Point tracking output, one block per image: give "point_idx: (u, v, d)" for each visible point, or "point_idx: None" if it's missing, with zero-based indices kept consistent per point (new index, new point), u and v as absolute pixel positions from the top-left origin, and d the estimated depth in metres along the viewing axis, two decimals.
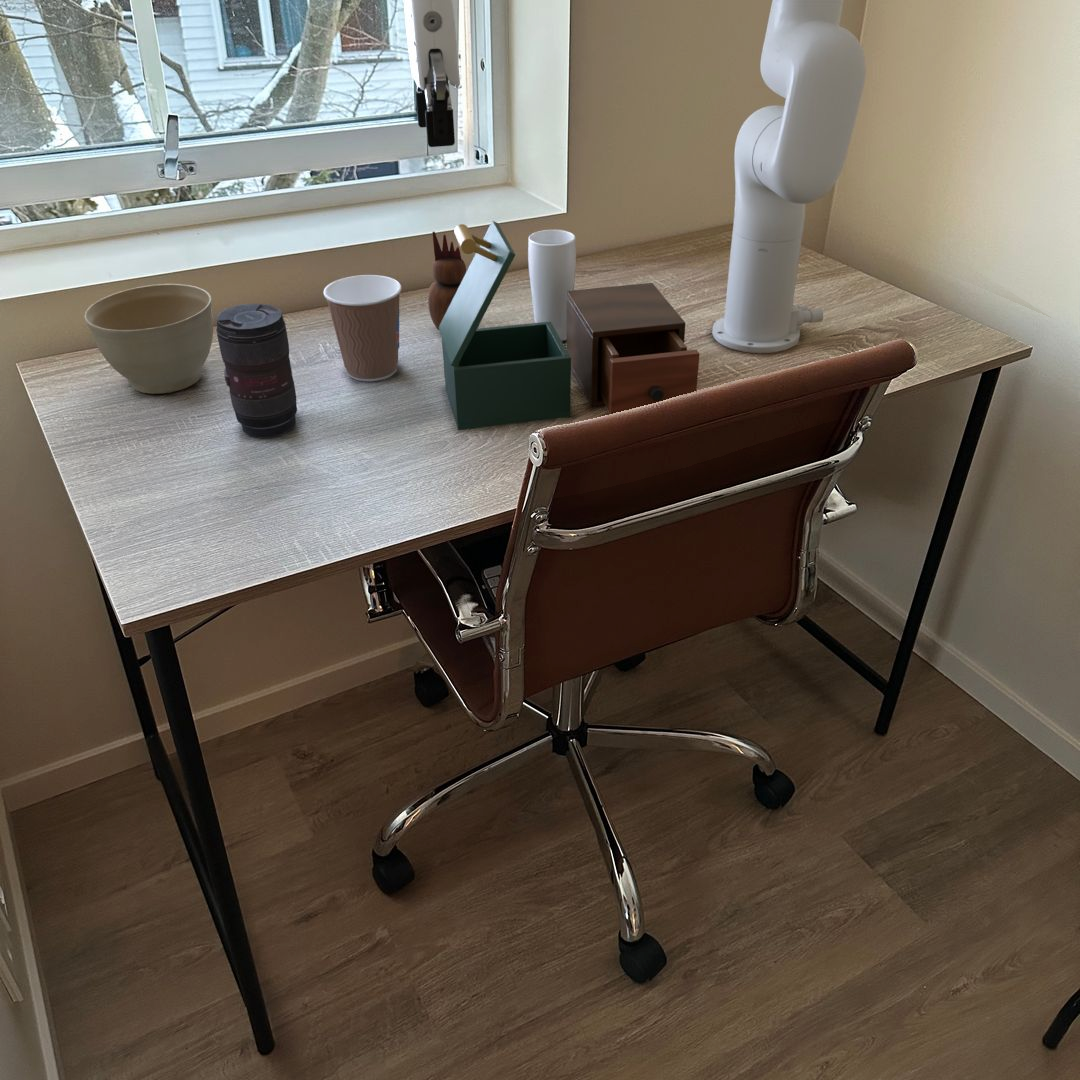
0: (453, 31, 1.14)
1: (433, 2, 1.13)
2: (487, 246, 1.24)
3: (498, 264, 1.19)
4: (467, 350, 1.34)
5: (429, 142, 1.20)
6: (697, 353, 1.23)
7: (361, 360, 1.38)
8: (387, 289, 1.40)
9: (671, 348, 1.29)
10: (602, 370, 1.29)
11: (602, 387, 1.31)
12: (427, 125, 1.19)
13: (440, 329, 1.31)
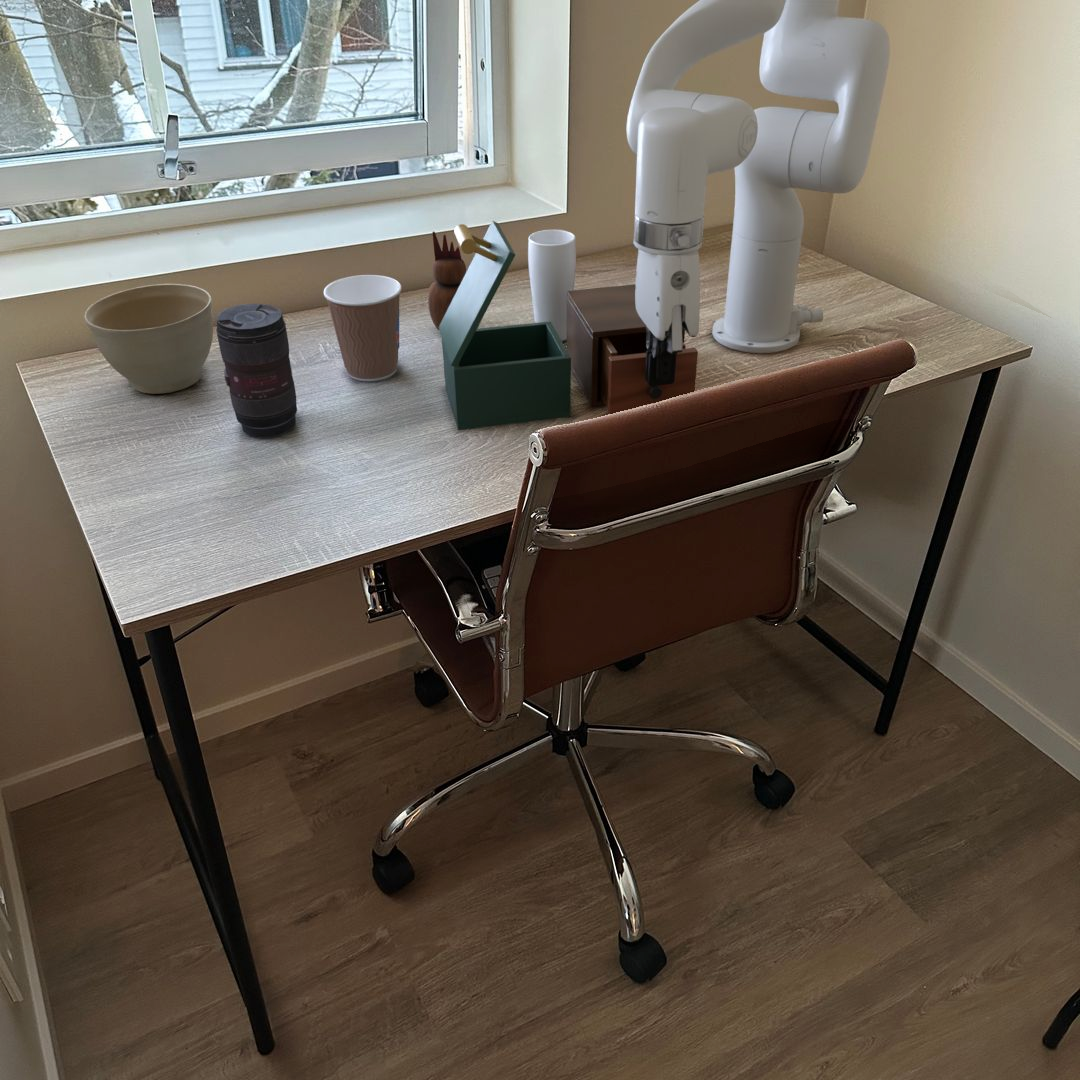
0: (698, 287, 1.11)
1: (682, 262, 1.09)
2: (487, 246, 1.24)
3: (498, 264, 1.19)
4: (467, 350, 1.34)
5: (650, 382, 1.21)
6: (695, 351, 1.24)
7: (361, 360, 1.38)
8: (387, 289, 1.40)
9: None
10: (601, 368, 1.30)
11: (601, 385, 1.31)
12: (650, 367, 1.20)
13: (440, 329, 1.31)
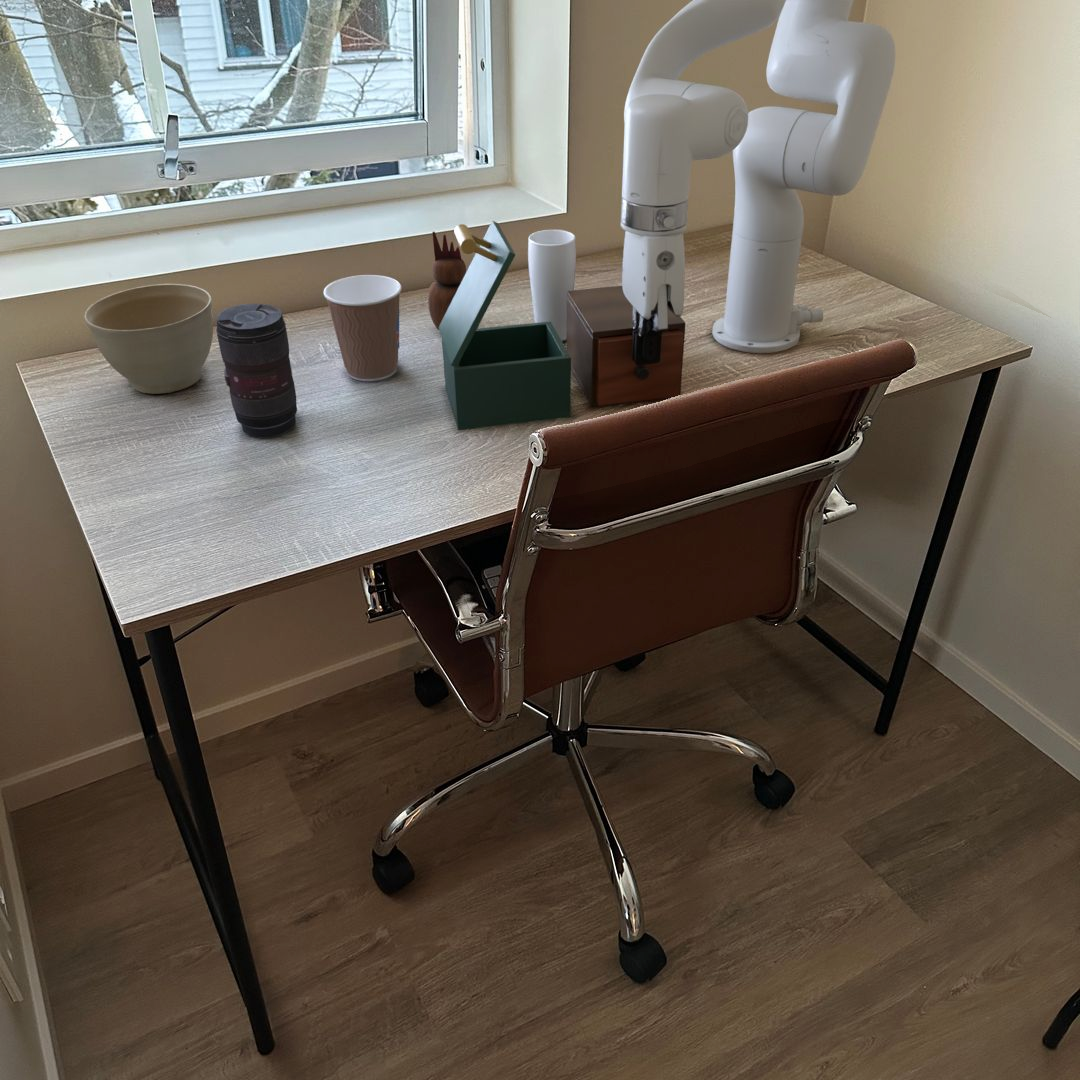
0: (683, 268, 1.16)
1: (668, 243, 1.14)
2: (487, 246, 1.24)
3: (498, 264, 1.19)
4: (467, 350, 1.34)
5: (636, 361, 1.26)
6: (681, 333, 1.28)
7: (361, 360, 1.38)
8: (387, 289, 1.40)
9: None
10: None
11: None
12: (636, 347, 1.24)
13: (440, 329, 1.31)
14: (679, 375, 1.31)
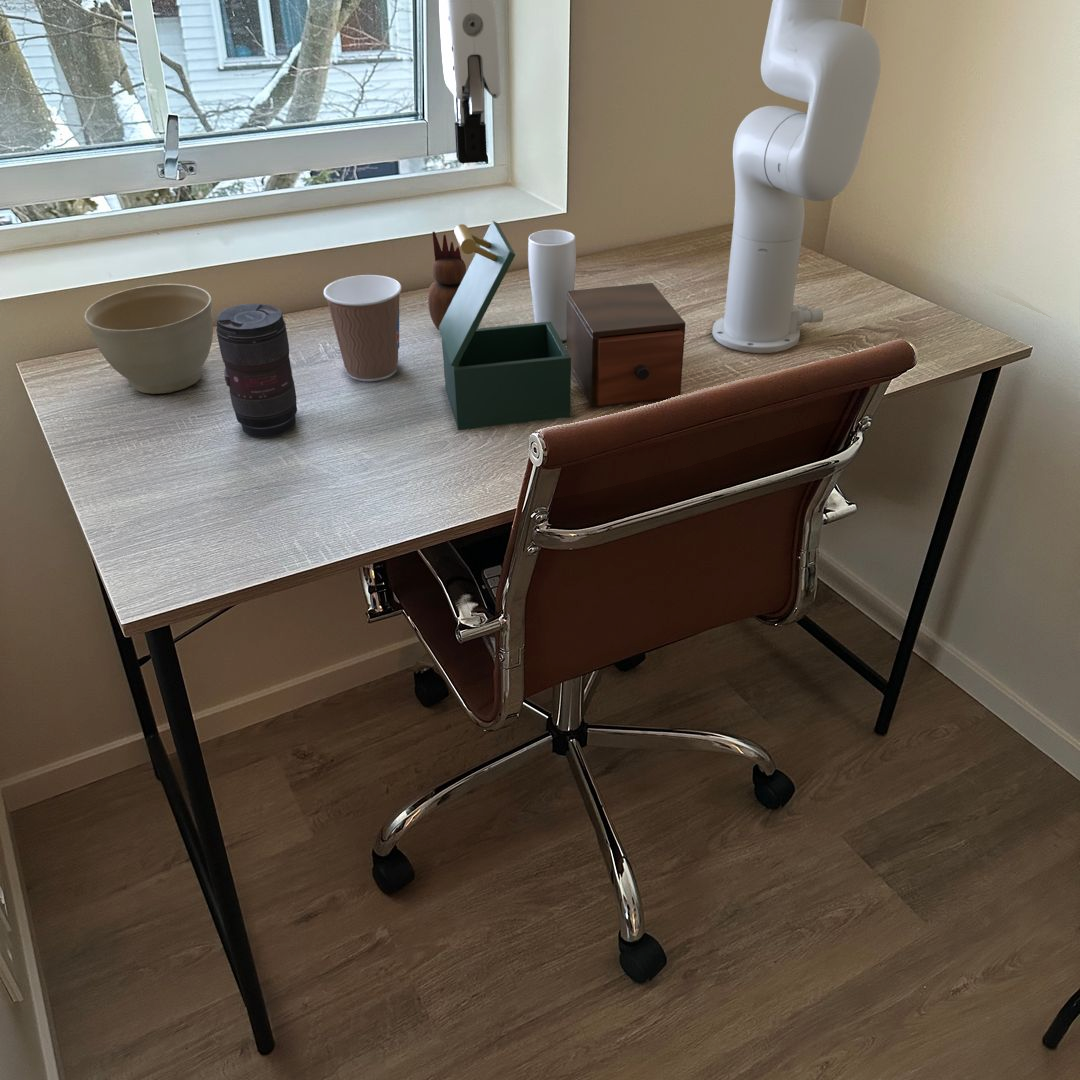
0: (495, 35, 1.04)
1: (474, 3, 1.02)
2: (487, 246, 1.24)
3: (498, 264, 1.19)
4: (467, 350, 1.34)
5: (460, 158, 1.14)
6: (681, 333, 1.28)
7: (361, 360, 1.38)
8: (387, 289, 1.40)
9: None
10: None
11: None
12: (458, 140, 1.13)
13: (440, 329, 1.31)
14: (679, 375, 1.31)
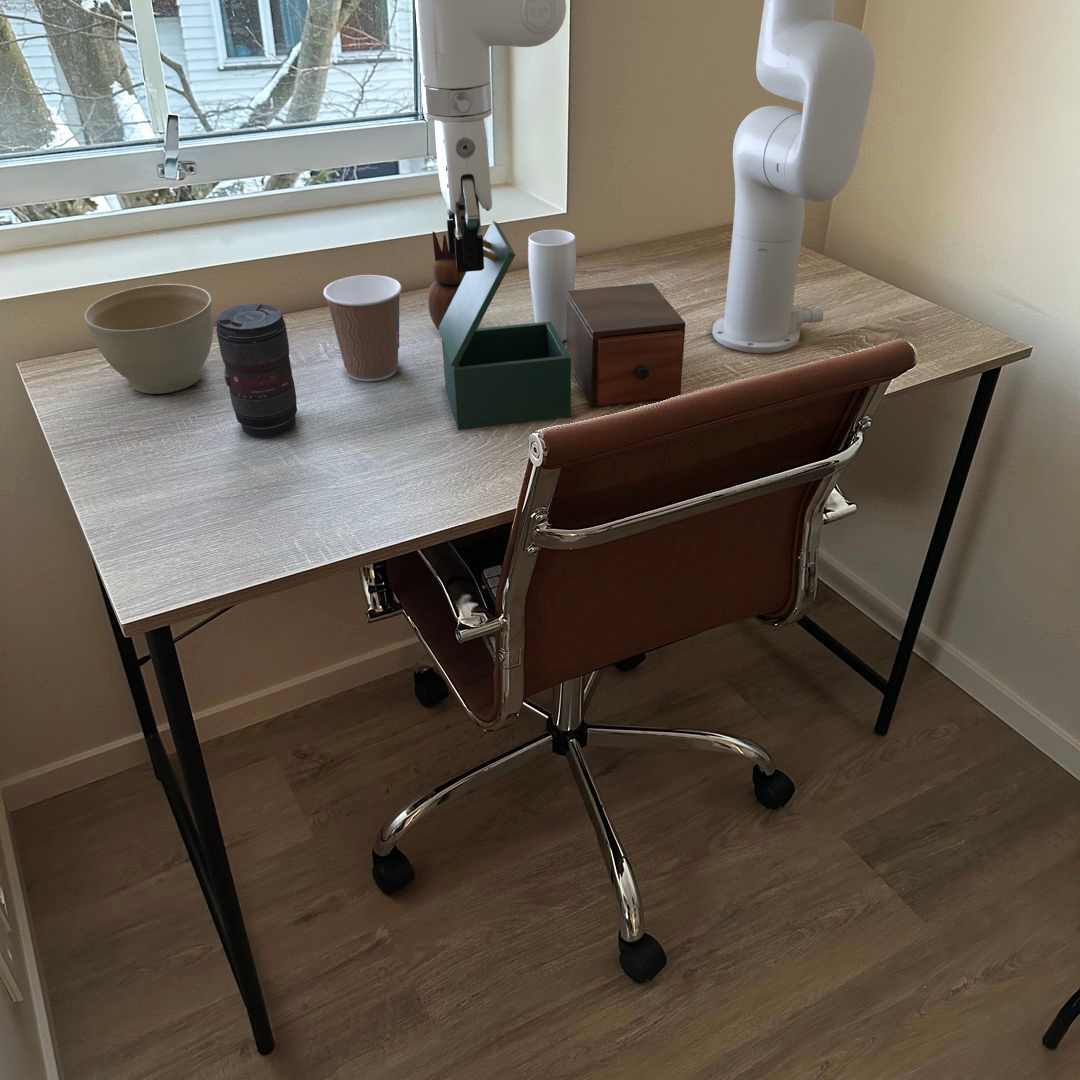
0: (486, 156, 1.11)
1: (466, 129, 1.09)
2: (487, 246, 1.24)
3: (498, 264, 1.19)
4: (467, 350, 1.34)
5: (458, 268, 1.19)
6: (681, 333, 1.28)
7: (361, 360, 1.38)
8: (387, 289, 1.40)
9: None
10: None
11: None
12: (456, 252, 1.18)
13: (440, 329, 1.31)
14: (679, 375, 1.31)
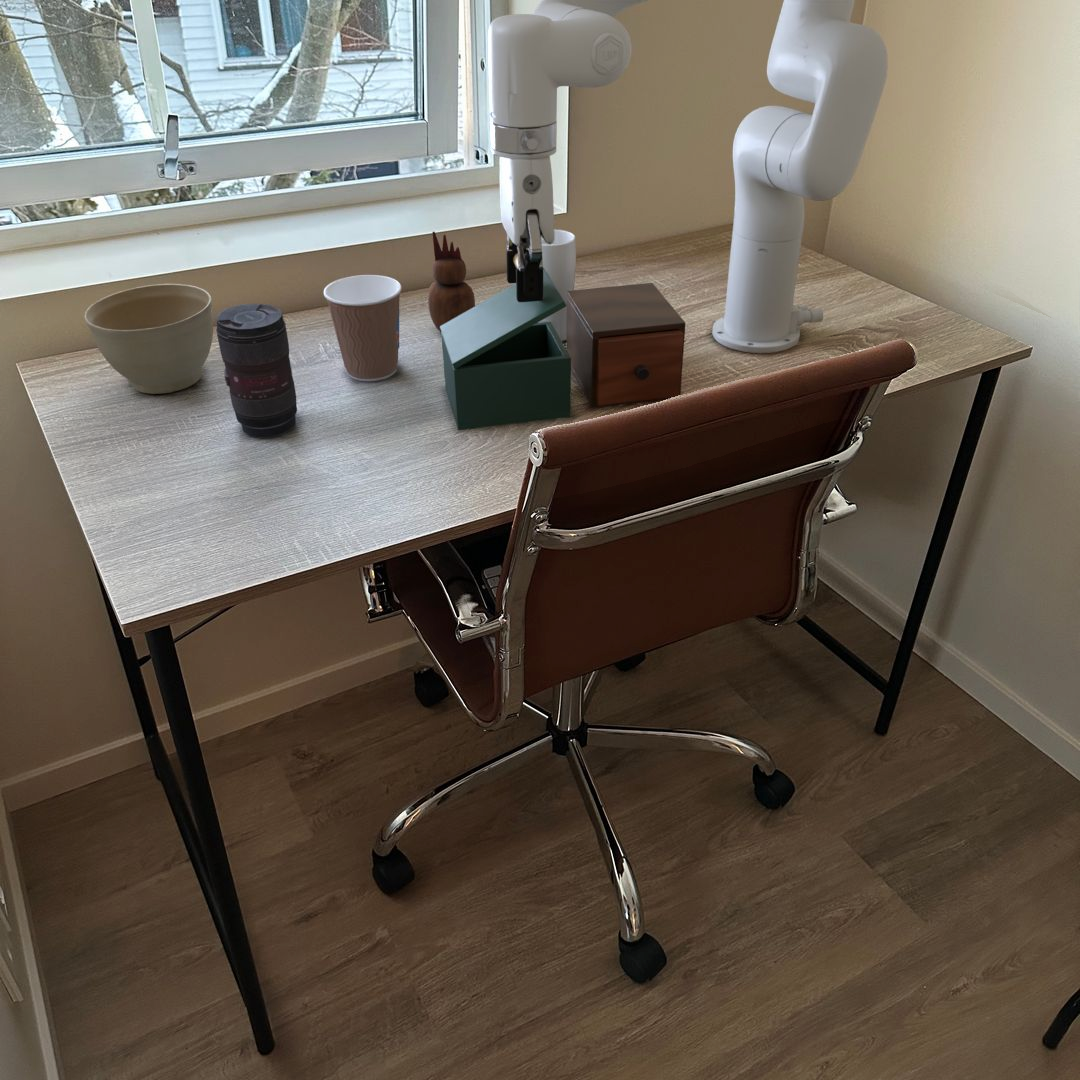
0: (551, 192, 1.15)
1: (533, 166, 1.13)
2: None
3: (545, 305, 1.23)
4: None
5: (518, 298, 1.23)
6: (681, 333, 1.28)
7: (361, 360, 1.38)
8: (387, 289, 1.40)
9: None
10: None
11: None
12: (517, 282, 1.21)
13: (442, 329, 1.31)
14: (679, 375, 1.31)
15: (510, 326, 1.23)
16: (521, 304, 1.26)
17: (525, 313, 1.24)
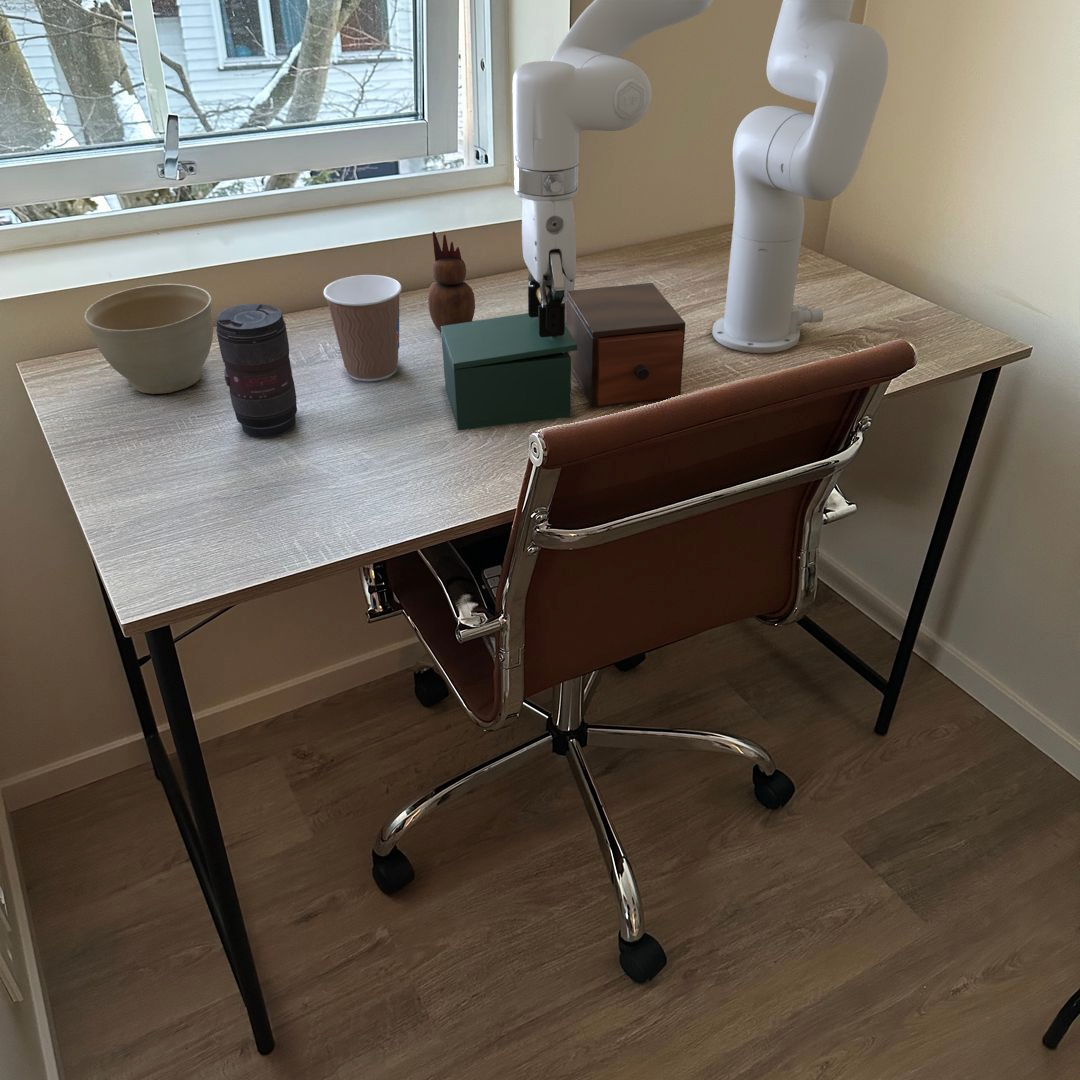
0: (573, 233, 1.18)
1: (556, 208, 1.16)
2: None
3: (557, 342, 1.26)
4: None
5: (540, 333, 1.26)
6: (681, 333, 1.28)
7: (361, 360, 1.38)
8: (387, 289, 1.40)
9: None
10: None
11: None
12: (540, 318, 1.25)
13: (444, 329, 1.31)
14: (679, 375, 1.31)
15: (518, 349, 1.25)
16: (531, 333, 1.28)
17: (535, 342, 1.26)
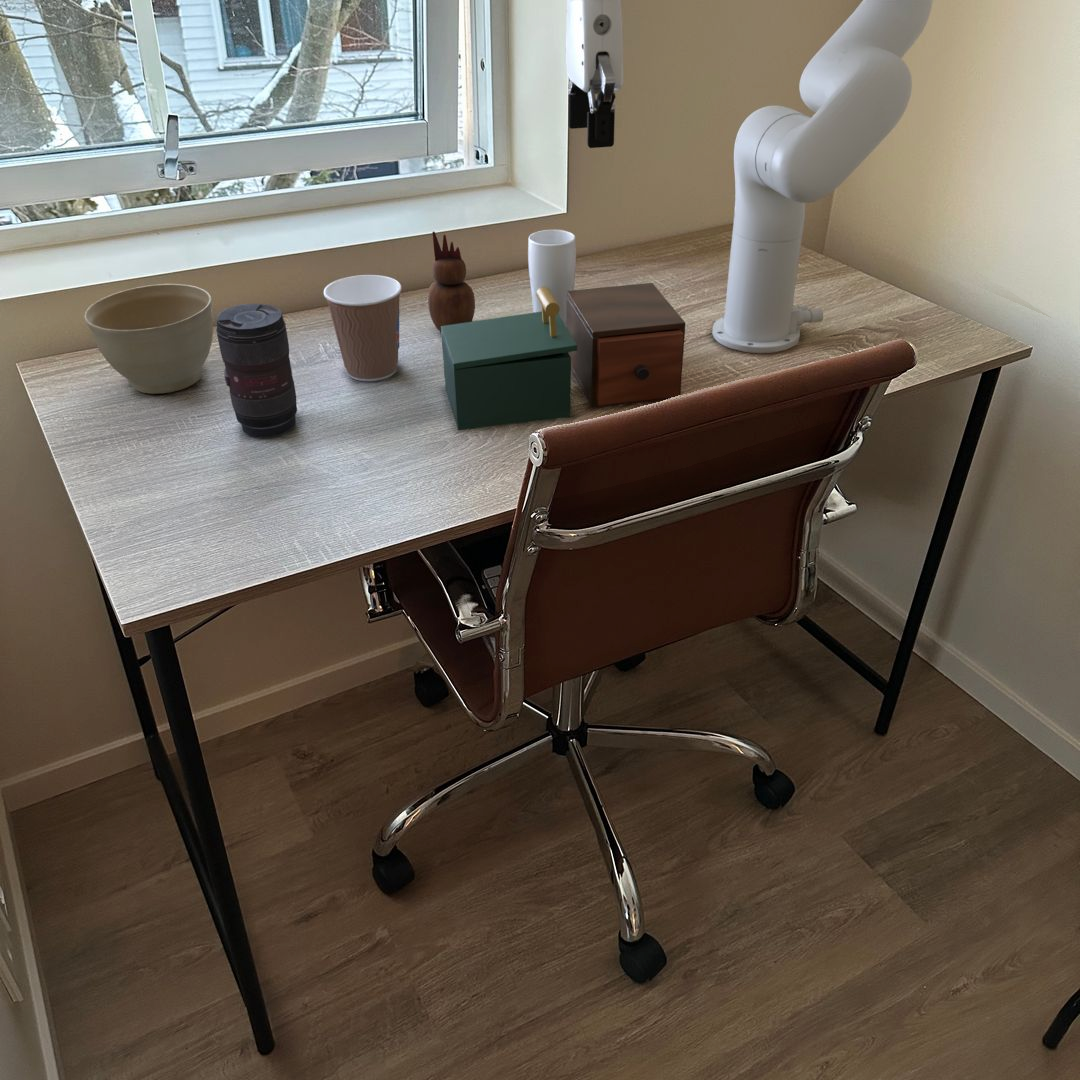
0: (621, 34, 1.17)
1: (604, 6, 1.15)
2: (545, 321, 1.31)
3: (557, 342, 1.26)
4: None
5: (589, 143, 1.22)
6: (681, 333, 1.28)
7: (361, 360, 1.38)
8: (387, 289, 1.40)
9: None
10: None
11: None
12: (589, 126, 1.21)
13: (444, 329, 1.31)
14: (679, 375, 1.31)
15: (518, 349, 1.25)
16: (531, 334, 1.28)
17: (535, 343, 1.26)
